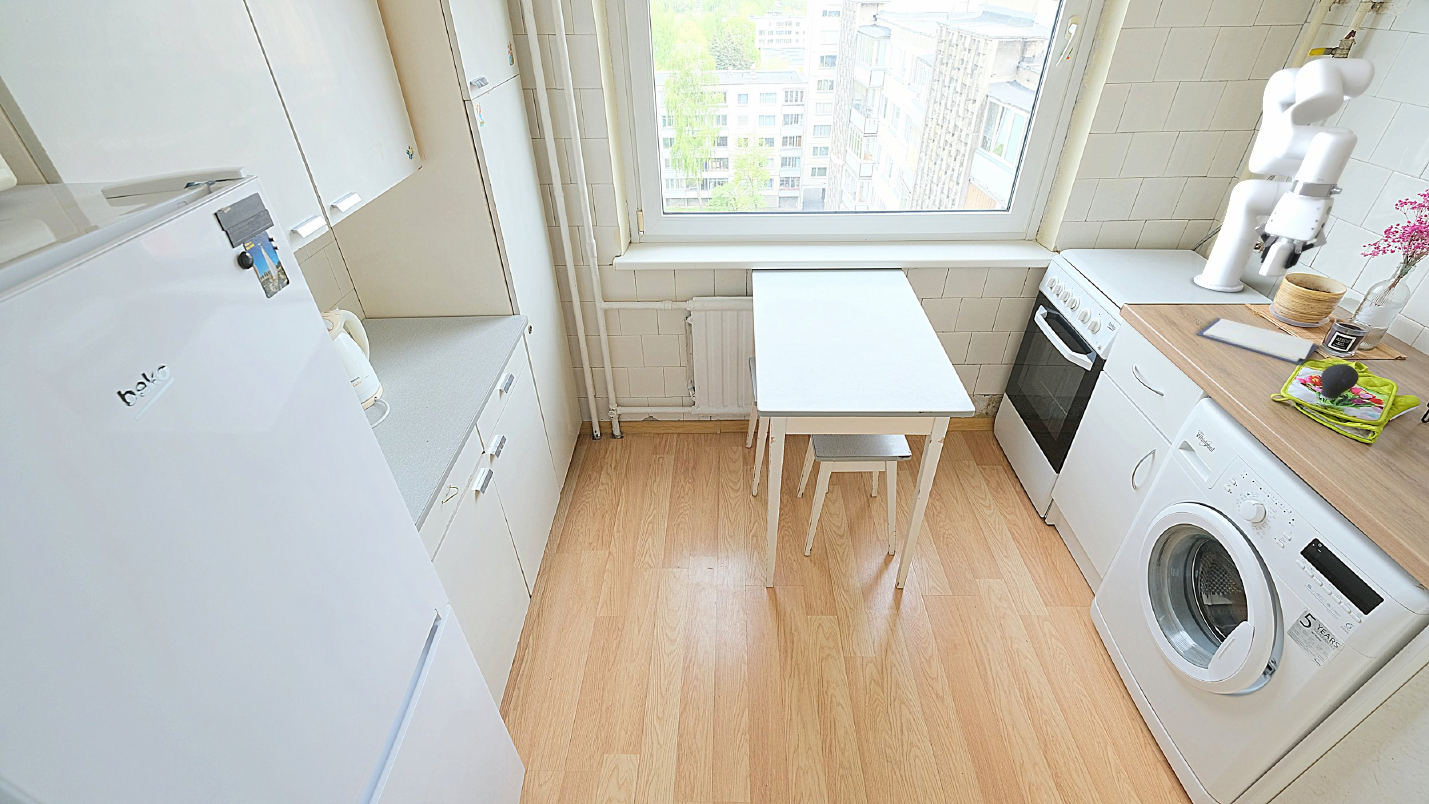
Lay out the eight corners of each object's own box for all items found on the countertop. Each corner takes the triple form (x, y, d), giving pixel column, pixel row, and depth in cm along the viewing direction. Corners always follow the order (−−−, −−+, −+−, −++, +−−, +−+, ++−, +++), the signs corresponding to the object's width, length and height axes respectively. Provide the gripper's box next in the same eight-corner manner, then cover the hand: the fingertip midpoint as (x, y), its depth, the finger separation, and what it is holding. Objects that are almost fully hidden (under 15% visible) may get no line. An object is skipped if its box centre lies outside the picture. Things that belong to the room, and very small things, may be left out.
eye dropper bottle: (1287, 279, 156) (1311, 231, 150) (1260, 276, 158) (1282, 228, 152) (1282, 273, 160) (1304, 226, 154) (1255, 270, 162) (1276, 223, 155)
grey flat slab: (1218, 319, 176) (1219, 315, 176) (1318, 346, 162) (1320, 342, 161) (1197, 334, 168) (1198, 331, 167) (1300, 365, 153) (1302, 361, 153)
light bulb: (1299, 399, 140) (1322, 359, 135) (1325, 399, 140) (1349, 359, 134) (1319, 413, 135) (1343, 371, 130) (1346, 413, 135) (1371, 372, 130)
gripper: (1363, 194, 144) (1323, 271, 153) (1276, 180, 156) (1244, 253, 166) (1351, 199, 140) (1311, 278, 150) (1262, 184, 153) (1230, 258, 162)
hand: (1276, 264), depth 158 cm, fingers closed on eye dropper bottle, 4 cm apart
